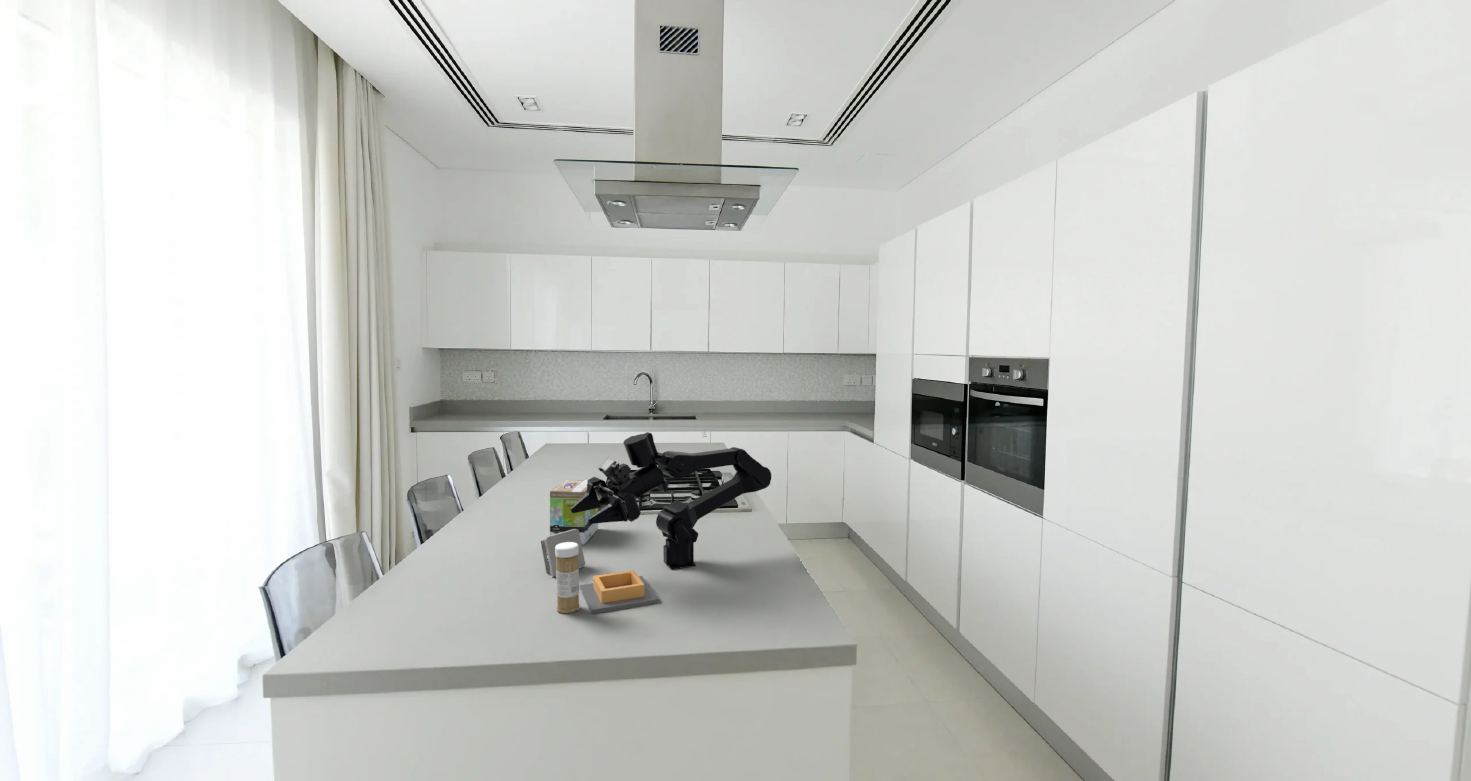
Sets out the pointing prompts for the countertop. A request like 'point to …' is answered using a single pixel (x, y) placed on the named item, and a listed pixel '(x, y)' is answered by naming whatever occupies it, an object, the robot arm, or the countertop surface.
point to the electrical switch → (554, 540)
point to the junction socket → (617, 592)
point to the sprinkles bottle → (567, 577)
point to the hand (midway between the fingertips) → (579, 516)
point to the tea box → (562, 515)
